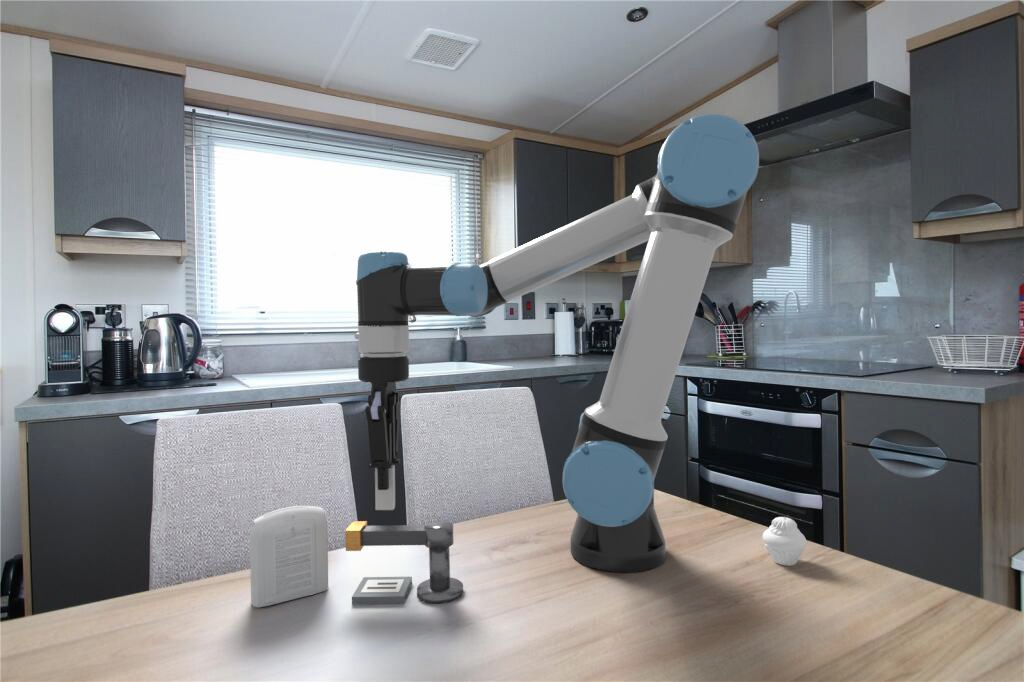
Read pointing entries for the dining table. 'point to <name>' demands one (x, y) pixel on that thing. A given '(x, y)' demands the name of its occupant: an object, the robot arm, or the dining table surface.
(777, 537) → the muffin
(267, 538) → the photo printer
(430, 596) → the round-base stand
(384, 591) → the label tile
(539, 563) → the dining table surface
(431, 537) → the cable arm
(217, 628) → the dining table surface
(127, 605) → the dining table surface
